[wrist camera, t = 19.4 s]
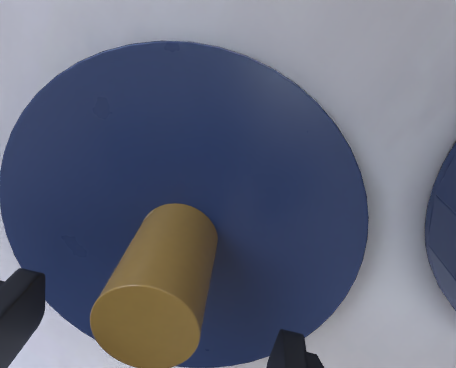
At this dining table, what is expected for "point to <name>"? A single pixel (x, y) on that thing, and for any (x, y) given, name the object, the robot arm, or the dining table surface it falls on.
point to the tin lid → (183, 204)
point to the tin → (443, 228)
